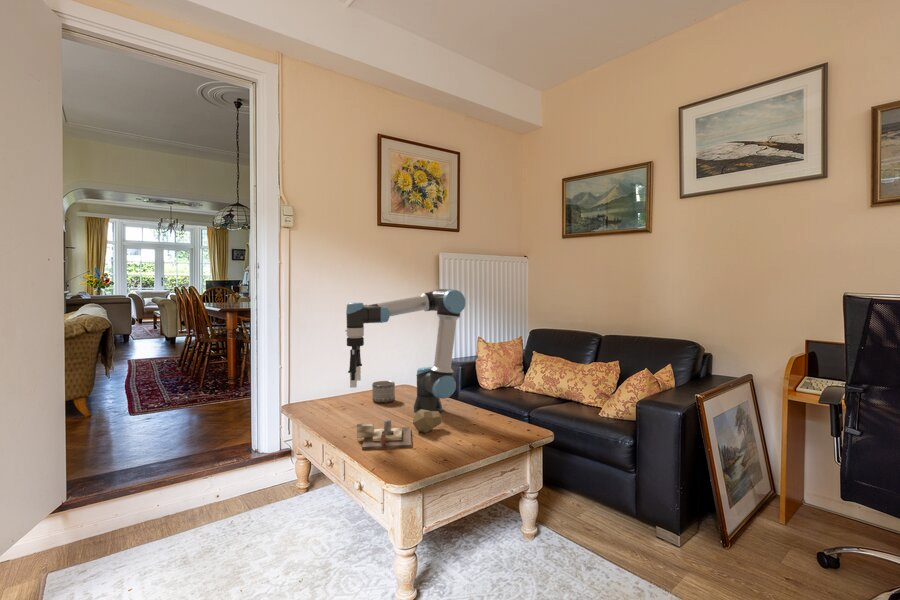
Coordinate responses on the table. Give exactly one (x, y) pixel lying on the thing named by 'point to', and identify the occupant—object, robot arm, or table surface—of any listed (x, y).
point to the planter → (383, 391)
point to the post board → (384, 444)
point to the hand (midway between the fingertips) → (355, 383)
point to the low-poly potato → (426, 420)
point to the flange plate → (377, 432)
